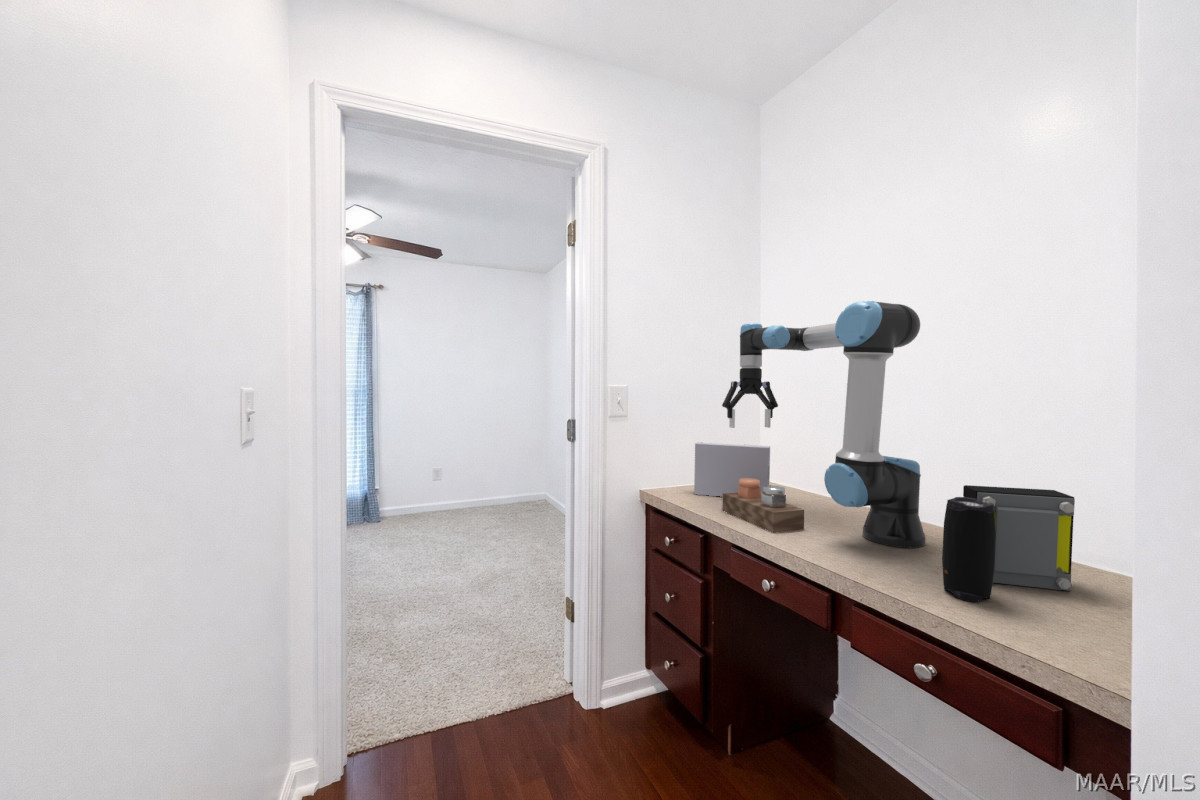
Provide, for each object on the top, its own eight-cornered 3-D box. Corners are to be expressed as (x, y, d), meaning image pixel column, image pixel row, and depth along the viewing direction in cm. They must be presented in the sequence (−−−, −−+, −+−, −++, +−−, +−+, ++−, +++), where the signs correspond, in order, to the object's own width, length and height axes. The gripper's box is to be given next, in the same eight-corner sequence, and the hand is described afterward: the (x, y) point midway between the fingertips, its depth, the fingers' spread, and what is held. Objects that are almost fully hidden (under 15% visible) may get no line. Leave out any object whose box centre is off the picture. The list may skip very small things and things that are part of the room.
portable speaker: (946, 599, 100) (949, 503, 99) (937, 582, 108) (940, 494, 107) (999, 608, 96) (1002, 508, 95) (986, 590, 104) (989, 498, 104)
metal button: (789, 508, 149) (789, 489, 149) (771, 509, 147) (772, 490, 147) (774, 503, 155) (775, 484, 155) (757, 504, 153) (758, 486, 153)
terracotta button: (763, 499, 160) (763, 481, 160) (746, 500, 158) (747, 482, 158) (751, 494, 166) (751, 477, 166) (735, 496, 164) (735, 478, 164)
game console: (696, 491, 196) (697, 441, 196) (769, 498, 186) (770, 445, 185) (693, 494, 191) (694, 443, 190) (768, 501, 181) (769, 447, 180)
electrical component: (976, 584, 107) (980, 493, 107) (957, 567, 117) (961, 483, 117) (1076, 595, 102) (1081, 499, 102) (1048, 576, 112) (1052, 489, 111)
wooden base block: (803, 529, 146) (804, 509, 146) (773, 533, 143) (773, 512, 142) (749, 508, 171) (750, 491, 171) (722, 510, 167) (722, 493, 167)
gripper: (777, 368, 181) (776, 426, 182) (713, 367, 177) (712, 426, 177) (788, 367, 174) (787, 428, 174) (722, 366, 169) (721, 428, 170)
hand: (749, 427), depth 176 cm, fingers open, 13 cm apart
